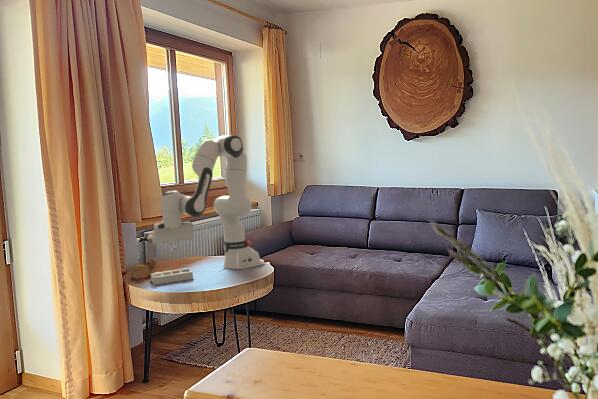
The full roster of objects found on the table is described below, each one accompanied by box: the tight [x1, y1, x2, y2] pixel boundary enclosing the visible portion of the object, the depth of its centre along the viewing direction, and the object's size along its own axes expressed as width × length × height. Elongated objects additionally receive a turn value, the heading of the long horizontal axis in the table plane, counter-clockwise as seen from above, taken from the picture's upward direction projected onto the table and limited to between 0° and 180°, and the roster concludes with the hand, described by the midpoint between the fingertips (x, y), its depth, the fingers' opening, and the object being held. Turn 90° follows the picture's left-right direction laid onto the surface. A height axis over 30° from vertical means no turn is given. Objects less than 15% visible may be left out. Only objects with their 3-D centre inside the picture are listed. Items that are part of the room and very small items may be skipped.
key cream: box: [153, 271, 162, 276], centre depth 255 cm, size 3×3×3 cm
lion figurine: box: [129, 257, 158, 279], centre depth 270 cm, size 15×5×9 cm, turn 119°
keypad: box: [150, 267, 194, 287], centre depth 258 cm, size 19×12×4 cm, turn 114°
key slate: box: [180, 267, 190, 272], centre depth 261 cm, size 3×3×3 cm
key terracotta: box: [171, 268, 180, 273], centre depth 259 cm, size 3×3×3 cm
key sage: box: [162, 270, 171, 275], centre depth 257 cm, size 3×3×3 cm
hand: (174, 250), depth 258 cm, fingers closed
